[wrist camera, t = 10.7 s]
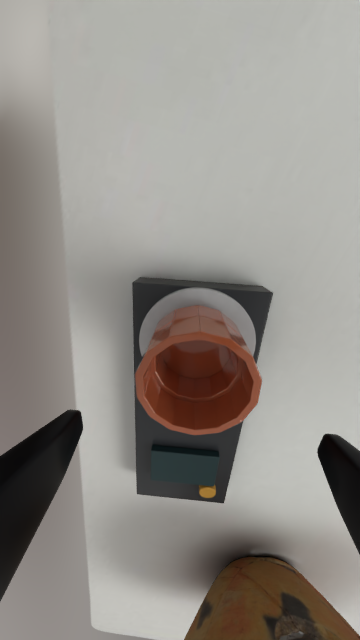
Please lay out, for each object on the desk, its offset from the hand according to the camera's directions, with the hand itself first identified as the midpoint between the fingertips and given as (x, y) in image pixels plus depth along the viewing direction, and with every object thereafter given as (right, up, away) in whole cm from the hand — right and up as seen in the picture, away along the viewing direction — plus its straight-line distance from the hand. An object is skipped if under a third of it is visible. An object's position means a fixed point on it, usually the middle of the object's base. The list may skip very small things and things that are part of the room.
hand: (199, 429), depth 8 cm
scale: (0, -3, +11) cm, 12 cm away
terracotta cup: (0, +2, +7) cm, 7 cm away
